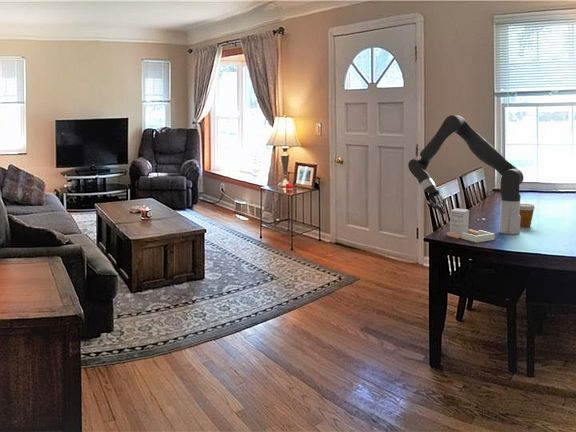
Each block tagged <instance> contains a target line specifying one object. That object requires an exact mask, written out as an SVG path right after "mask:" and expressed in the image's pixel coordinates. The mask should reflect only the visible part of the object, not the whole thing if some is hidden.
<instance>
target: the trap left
mask: <svg viewBox="0 0 576 432" xmlns="http://www.w3.org/2000/svg"><path fill="white" fill-rule="evenodd" d="M446 236H447V237H451V238H455V239H463V238H462V235H461V234H458V233H454V232H450V231H448V232H446Z"/></svg>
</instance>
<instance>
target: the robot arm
mask: <svg viewBox="0 0 576 432" xmlns="http://www.w3.org/2000/svg"><path fill="white" fill-rule="evenodd" d="M453 133H455V134H457V135H458V136H459V137H460V138H462V140H464V142H465V143H466V145H467V146H468V148H469V150H470V151H471V153H472V154H473V155H474V156H475V157H476V158H478V160H480V161H481V162H482V163H484V164H486V165H488V166H489V167H491V168H492V169H494V170H495V171H497V172H498V174H499V175H500V176H501V177H500V190H499V191H500V212H499V226H498V228H499V229H498V230H499V231H498V232H499V233H501V234H503V235H509V236H510V235H511V236H512V235H518V234H520V233H521V227H520V221H521V216H520V215H519V212H520V204H521V194H520V185H521V184H522V183H523V182H524V175H523V172H522V171H521V170H520V169H519V168H517V167H516V166H515V165H514V164H512V163H511V162H509V161H508V160H507V159H506V158H505V157H504V156H503V155H502V154H501V153H500V152H499V151H498V150H497V149H496V148H495V147H494V146H493V145H492V144H491V143H490V142H489V141H487V140H486V139H485V138H484V137H483V136H482V135H481V134H480V133H478V132H477V131H475V129H474V128H473V127H472V126H471V125H470V124H469V123H468V122H467V121H466V120H465V118H464V117H462V116H461V115H459V114H451V115H448V116H446V118H445V119H444V121H443V122H442V123H441V126H440V127H439V129H438V130H437V132H436V133H435V135H434V136H433V137H432V138H431V140H430V141H429V142H428V143H427V144H426V146H425V147H424V148H423V149H422V150H421V151H420V153H419V156H420V159H417V158H412V159H410V160H409V161H408V163H407V164H408V165H407V168H408V170H409V172H410V173H411V174H412V175H413V177H414V178H416V179H417V182H418V183H419V185H420V188H421V190H422V192H423V194H424V195H425V192H428V193H429V200H428V199H427V201H426V202H425V203H426V204H427V205H428V206H430V207H431V208H432V209H434V210H437V211H438V212H439V214H440V215H441V216H444V215H446V209H445V207H446V204H447V198H446V197H443V196H442V195H441V194H440V191H439V189H438V187H437V185H436V183H435V181H434V180H433V179H432V176H431V175H430V174H429V172H428V171H426V169H427V168H428V166H429V165H430V162H431V160H432V159H433V158H434V157H435V156H436V154H437V153H438V152H439V150H440V149H441V147H442V146H443V143H444V142H445V141H446V140H447V139H448V138H449V137H450V136H451V135H452V134H453Z"/></svg>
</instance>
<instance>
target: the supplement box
mask: <svg viewBox="0 0 576 432" xmlns="http://www.w3.org/2000/svg"><path fill="white" fill-rule="evenodd" d="M449 217H450V219H449V223H450V225H449V232H454V233H458V234H461V235H462V232H464V233H468V230H469V220H470V210H469V209H465V208H453V209H451V210H450V216H449ZM468 234H469V233H468Z"/></svg>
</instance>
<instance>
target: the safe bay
mask: <svg viewBox="0 0 576 432" xmlns="http://www.w3.org/2000/svg"><path fill="white" fill-rule="evenodd" d="M477 231H478V236H477V235H473V234H469V233H464V232H462V238H461V239H463V240H467V241H470V242H474V243H481V242H486V241H493V240H495V238H496V237H495V235H496V233H494V232H489V231H485V230H482V229H478V230H477Z"/></svg>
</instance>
